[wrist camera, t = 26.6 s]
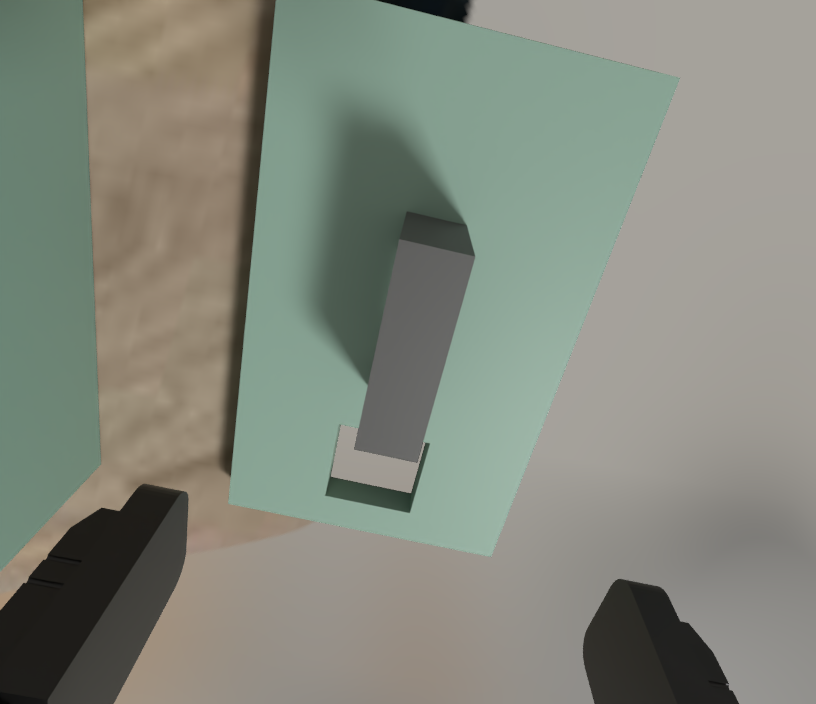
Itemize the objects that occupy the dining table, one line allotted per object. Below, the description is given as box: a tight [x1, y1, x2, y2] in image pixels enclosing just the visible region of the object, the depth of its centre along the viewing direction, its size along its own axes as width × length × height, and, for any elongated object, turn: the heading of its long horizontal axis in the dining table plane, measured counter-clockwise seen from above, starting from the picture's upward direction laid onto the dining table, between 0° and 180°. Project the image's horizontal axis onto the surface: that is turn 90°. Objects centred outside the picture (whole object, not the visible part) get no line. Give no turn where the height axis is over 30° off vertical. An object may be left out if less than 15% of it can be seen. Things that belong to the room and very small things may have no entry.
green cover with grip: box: [228, 0, 680, 557], centre depth 21 cm, size 23×14×6 cm, turn 168°
